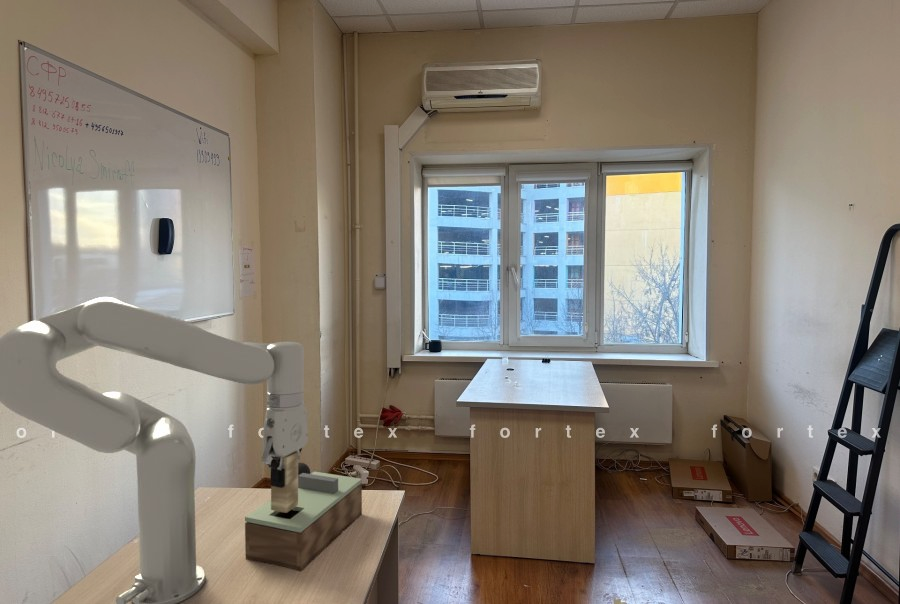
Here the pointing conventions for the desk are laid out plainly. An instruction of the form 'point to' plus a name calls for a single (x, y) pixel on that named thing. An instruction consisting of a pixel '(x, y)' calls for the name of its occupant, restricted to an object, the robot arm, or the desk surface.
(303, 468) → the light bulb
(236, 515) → the desk surface
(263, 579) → the desk surface
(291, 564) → the brown wooden box
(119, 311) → the robot arm
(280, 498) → the block
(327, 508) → the lid
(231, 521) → the desk surface
